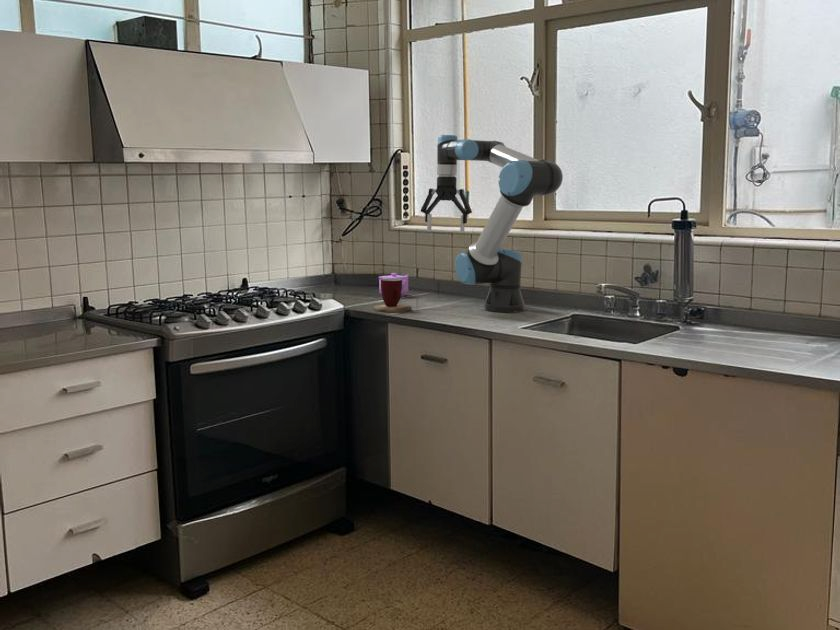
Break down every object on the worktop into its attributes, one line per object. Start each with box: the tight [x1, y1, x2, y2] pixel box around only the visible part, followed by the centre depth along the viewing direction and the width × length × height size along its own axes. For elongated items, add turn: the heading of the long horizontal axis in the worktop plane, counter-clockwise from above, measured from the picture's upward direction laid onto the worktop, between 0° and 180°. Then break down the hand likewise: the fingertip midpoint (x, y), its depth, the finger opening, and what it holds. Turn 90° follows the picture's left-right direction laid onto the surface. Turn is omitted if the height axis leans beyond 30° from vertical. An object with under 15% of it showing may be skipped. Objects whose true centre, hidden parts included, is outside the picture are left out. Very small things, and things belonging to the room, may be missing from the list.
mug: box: [381, 278, 402, 307], centre depth 323 cm, size 11×8×10 cm
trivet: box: [373, 303, 412, 314], centre depth 324 cm, size 14×14×1 cm
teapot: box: [377, 272, 410, 298], centre depth 361 cm, size 18×13×10 cm
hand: (445, 231), depth 335 cm, fingers open, 13 cm apart
